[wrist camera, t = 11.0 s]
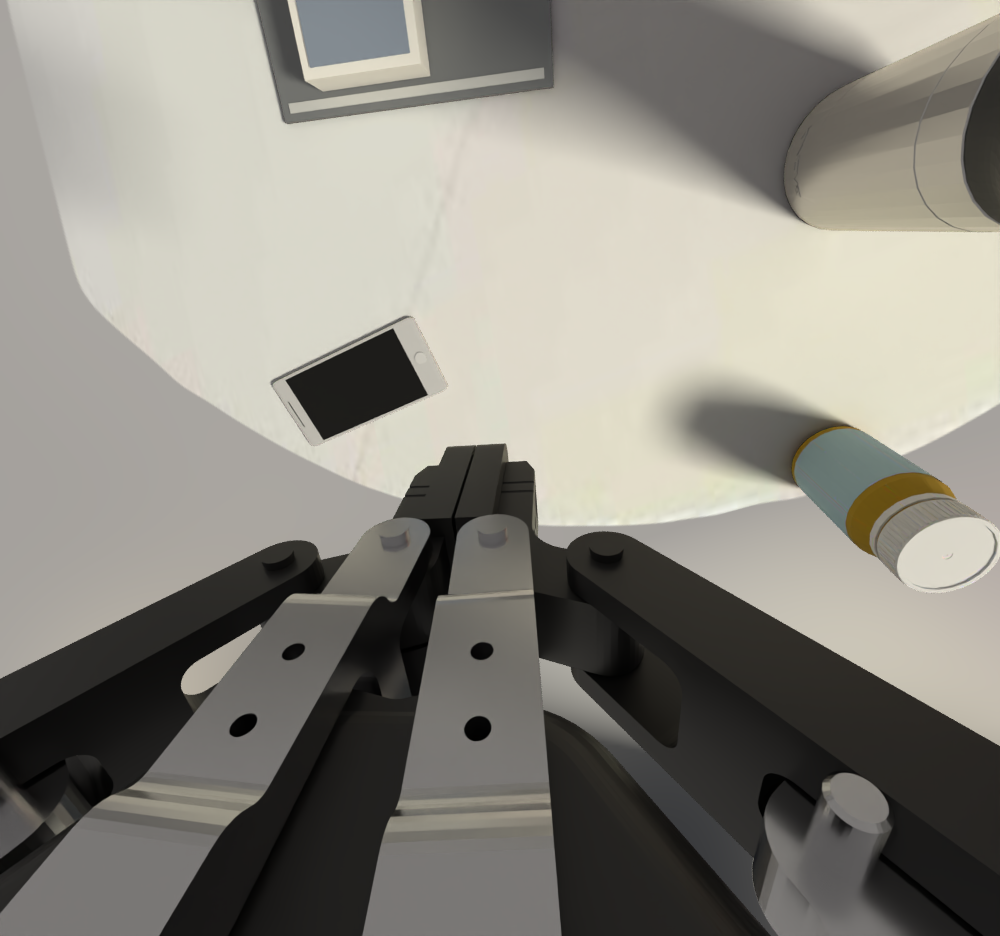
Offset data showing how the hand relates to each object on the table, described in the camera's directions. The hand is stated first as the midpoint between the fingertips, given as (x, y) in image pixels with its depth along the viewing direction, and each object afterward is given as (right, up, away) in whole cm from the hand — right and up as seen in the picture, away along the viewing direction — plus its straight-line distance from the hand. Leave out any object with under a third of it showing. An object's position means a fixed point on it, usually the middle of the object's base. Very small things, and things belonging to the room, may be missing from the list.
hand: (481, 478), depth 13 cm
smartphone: (-13, +8, +34) cm, 37 cm away
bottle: (+31, +1, +33) cm, 45 cm away
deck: (-9, +32, +19) cm, 38 cm away
